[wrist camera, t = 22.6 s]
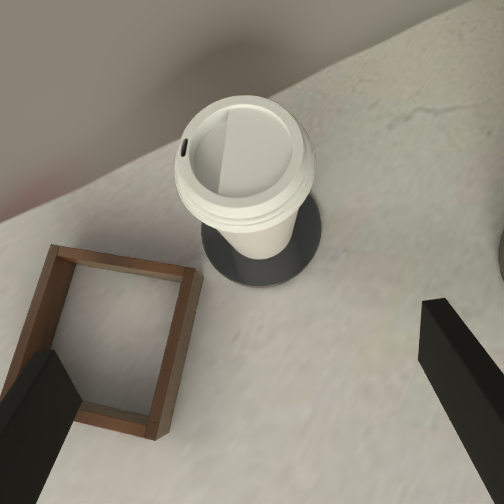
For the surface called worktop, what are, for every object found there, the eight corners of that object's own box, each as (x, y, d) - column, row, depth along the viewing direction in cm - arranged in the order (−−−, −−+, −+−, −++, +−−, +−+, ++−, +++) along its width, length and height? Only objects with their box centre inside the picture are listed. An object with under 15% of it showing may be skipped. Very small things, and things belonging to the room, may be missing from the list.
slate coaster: (328, 183, 39) (329, 180, 39) (311, 297, 36) (311, 296, 36) (215, 168, 41) (214, 166, 41) (190, 277, 38) (189, 275, 38)
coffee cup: (240, 170, 40) (211, 64, 26) (324, 207, 38) (343, 115, 24) (195, 248, 38) (136, 183, 24) (281, 291, 36) (273, 248, 22)
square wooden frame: (203, 276, 38) (195, 268, 35) (168, 432, 35) (155, 440, 31) (70, 253, 40) (50, 244, 37) (24, 398, 37) (-3, 402, 33)
